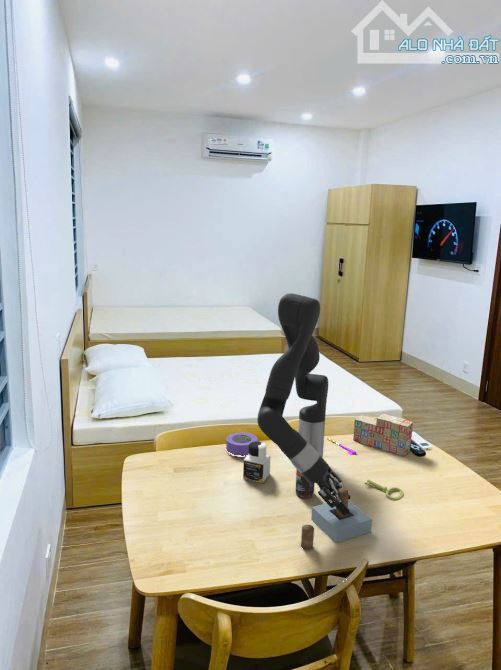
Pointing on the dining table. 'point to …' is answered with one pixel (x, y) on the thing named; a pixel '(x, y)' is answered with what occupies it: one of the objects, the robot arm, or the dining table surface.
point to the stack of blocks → (384, 433)
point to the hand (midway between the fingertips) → (347, 506)
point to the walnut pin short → (307, 537)
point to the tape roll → (239, 443)
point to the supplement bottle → (303, 486)
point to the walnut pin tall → (343, 496)
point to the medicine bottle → (257, 462)
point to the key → (386, 490)
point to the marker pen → (343, 447)
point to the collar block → (341, 522)
